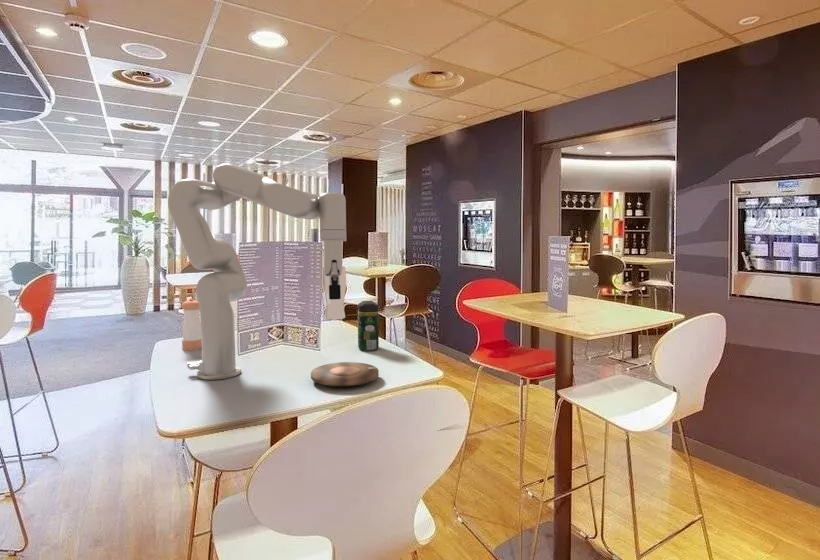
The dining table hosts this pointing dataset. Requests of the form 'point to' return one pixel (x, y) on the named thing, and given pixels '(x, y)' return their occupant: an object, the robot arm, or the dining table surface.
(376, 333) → the coffee jar
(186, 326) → the orange and white bottle
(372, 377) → the disc
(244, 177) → the robot arm
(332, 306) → the beer glass
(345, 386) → the turntable base
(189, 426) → the dining table surface
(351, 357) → the dining table surface
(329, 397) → the dining table surface
